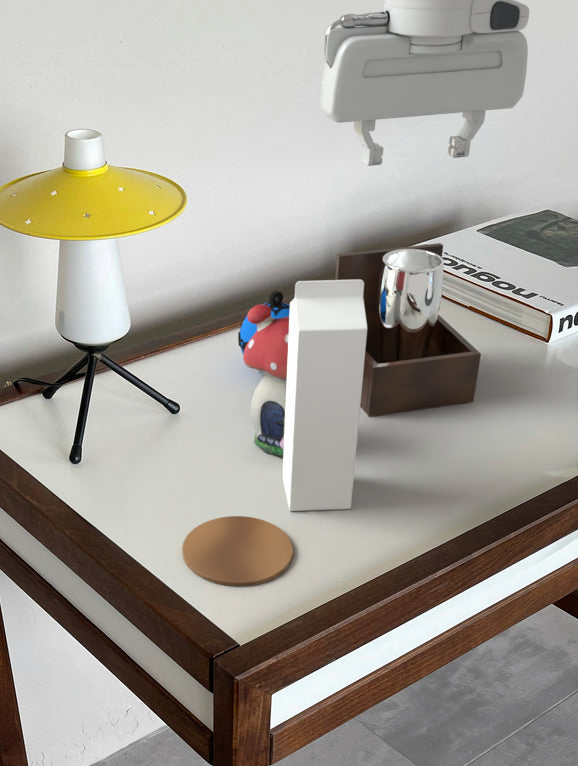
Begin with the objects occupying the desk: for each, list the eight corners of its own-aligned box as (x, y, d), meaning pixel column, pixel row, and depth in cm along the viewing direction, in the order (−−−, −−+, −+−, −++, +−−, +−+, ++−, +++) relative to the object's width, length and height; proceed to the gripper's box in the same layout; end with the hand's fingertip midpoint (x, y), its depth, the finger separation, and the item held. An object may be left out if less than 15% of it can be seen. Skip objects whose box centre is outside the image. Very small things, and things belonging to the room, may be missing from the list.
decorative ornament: (231, 438, 108) (232, 306, 99) (270, 415, 112) (274, 287, 103) (300, 469, 103) (307, 333, 94) (338, 444, 107) (349, 312, 98)
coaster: (273, 512, 97) (273, 508, 97) (308, 575, 89) (308, 572, 89) (171, 528, 95) (171, 525, 95) (197, 594, 87) (197, 591, 87)
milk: (351, 510, 97) (372, 294, 84) (288, 512, 97) (300, 296, 84) (340, 475, 102) (359, 266, 89) (281, 477, 102) (291, 267, 89)
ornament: (272, 395, 116) (275, 313, 110) (223, 369, 121) (223, 290, 115) (325, 372, 120) (330, 292, 115) (275, 348, 126) (278, 271, 120)
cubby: (426, 353, 124) (440, 242, 116) (473, 402, 114) (492, 284, 106) (329, 366, 122) (336, 253, 113) (368, 416, 112) (380, 297, 103)
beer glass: (356, 382, 118) (367, 259, 109) (394, 364, 122) (407, 243, 113) (403, 404, 114) (419, 277, 105) (441, 384, 118) (459, 260, 109)
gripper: (338, 21, 90) (329, 178, 98) (546, 8, 94) (521, 160, 102) (314, 9, 95) (307, 160, 103) (512, -2, 99) (490, 143, 107)
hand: (415, 160), depth 102 cm, fingers open, 8 cm apart
